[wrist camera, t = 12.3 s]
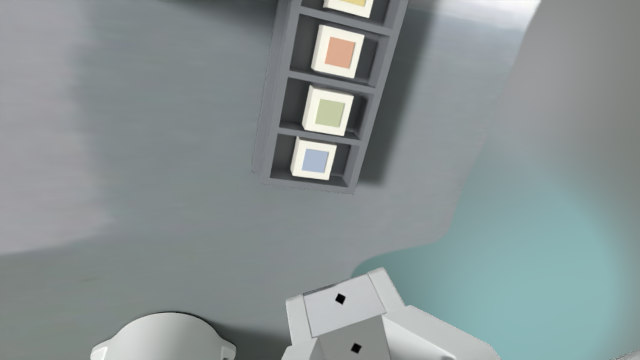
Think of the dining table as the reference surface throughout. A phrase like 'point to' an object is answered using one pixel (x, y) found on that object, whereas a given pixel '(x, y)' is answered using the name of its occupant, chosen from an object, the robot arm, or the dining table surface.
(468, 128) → the dining table surface
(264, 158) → the grey compartment tray
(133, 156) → the dining table surface
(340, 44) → the key
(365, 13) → the key
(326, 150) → the white and blue block
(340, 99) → the key
